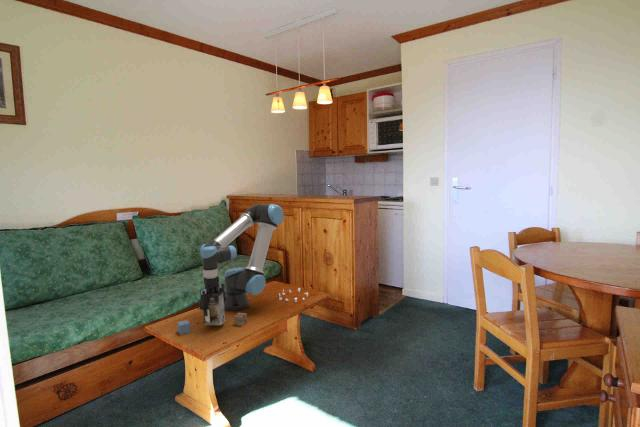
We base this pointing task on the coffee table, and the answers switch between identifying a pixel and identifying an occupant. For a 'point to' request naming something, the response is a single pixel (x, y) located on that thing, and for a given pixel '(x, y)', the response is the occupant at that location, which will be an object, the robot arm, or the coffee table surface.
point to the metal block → (240, 319)
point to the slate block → (183, 327)
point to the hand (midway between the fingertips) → (214, 318)
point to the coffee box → (216, 309)
